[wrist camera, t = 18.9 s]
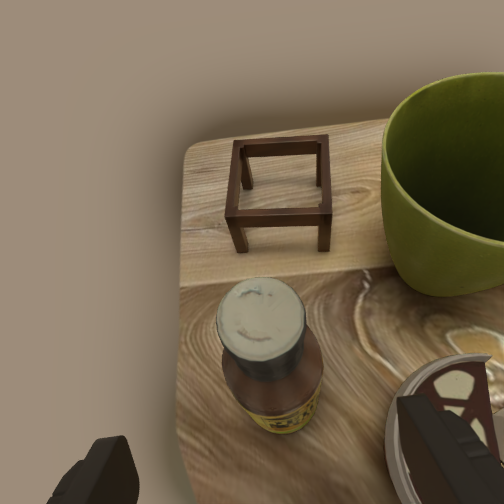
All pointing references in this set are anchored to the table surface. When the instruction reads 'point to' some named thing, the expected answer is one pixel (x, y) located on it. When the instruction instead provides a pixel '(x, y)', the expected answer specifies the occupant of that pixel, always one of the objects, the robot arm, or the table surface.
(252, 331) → the sauce bottle
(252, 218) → the open square stand
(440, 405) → the food container
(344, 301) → the table surface
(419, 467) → the robot arm
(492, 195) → the flower pot
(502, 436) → the flask
